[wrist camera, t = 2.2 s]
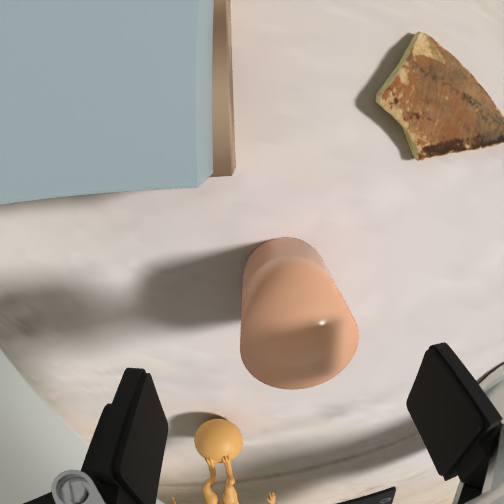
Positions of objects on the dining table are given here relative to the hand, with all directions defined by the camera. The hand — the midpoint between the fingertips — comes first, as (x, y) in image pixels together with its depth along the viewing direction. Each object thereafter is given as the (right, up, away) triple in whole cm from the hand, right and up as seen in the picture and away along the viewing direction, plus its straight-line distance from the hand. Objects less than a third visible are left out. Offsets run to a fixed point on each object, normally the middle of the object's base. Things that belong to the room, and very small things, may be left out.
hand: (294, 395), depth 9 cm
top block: (-8, +13, +2) cm, 15 cm away
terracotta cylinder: (+1, +3, +10) cm, 10 cm away
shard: (+11, +15, +6) cm, 20 cm away
